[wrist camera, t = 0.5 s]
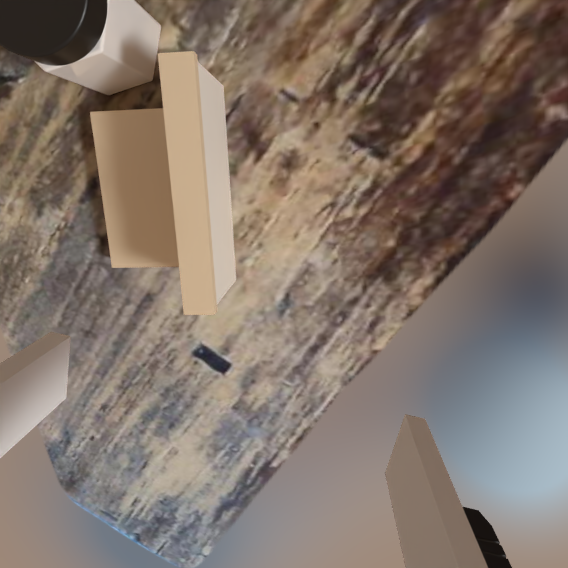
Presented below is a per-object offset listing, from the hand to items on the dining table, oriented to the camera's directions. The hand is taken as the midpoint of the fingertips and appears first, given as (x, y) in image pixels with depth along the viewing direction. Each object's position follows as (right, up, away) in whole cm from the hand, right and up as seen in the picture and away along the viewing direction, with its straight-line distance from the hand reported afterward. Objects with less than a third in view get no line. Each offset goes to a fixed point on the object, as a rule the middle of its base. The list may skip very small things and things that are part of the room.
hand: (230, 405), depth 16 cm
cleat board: (-9, +14, +24) cm, 29 cm away
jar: (-13, +26, +21) cm, 36 cm away
